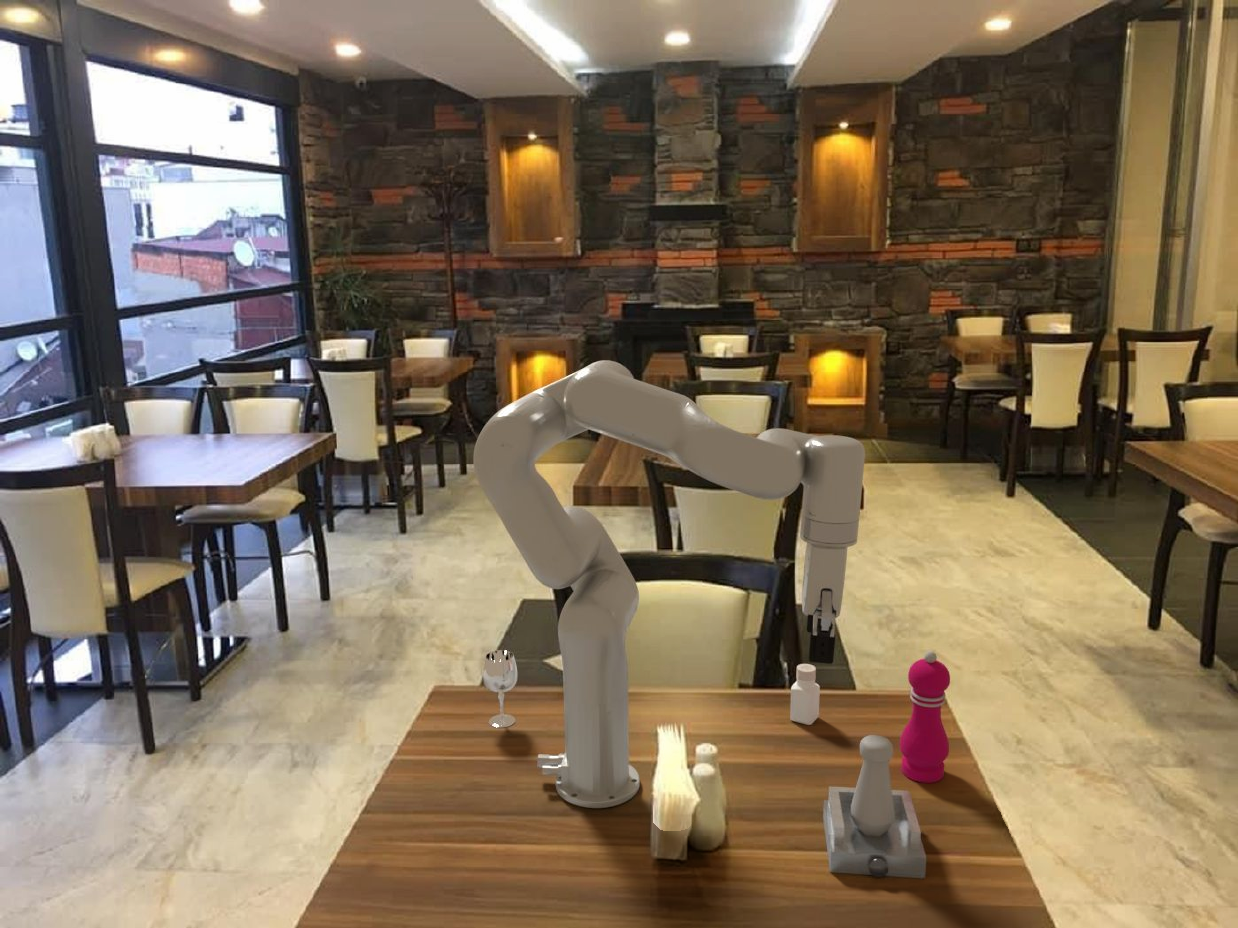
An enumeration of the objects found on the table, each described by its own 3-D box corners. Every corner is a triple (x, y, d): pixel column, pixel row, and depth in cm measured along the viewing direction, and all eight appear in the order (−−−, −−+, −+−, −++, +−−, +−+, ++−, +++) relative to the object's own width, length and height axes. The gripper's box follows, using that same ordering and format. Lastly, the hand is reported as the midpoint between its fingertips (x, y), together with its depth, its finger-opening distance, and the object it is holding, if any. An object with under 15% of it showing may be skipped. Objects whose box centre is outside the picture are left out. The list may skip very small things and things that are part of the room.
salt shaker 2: (895, 842, 131) (900, 753, 128) (850, 837, 133) (855, 749, 129) (892, 817, 137) (897, 731, 134) (849, 812, 138) (853, 727, 135)
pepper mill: (909, 754, 158) (917, 637, 154) (954, 770, 154) (963, 649, 149) (890, 774, 153) (897, 653, 148) (935, 790, 149) (945, 666, 144)
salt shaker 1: (819, 717, 171) (822, 665, 168) (811, 727, 167) (813, 674, 165) (797, 711, 173) (799, 660, 170) (788, 721, 169) (790, 669, 167)
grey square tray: (830, 875, 130) (832, 838, 128) (823, 818, 142) (824, 783, 141) (926, 882, 128) (928, 844, 127) (910, 823, 141) (912, 788, 139)
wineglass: (482, 715, 172) (479, 651, 169) (515, 710, 174) (512, 646, 171) (488, 731, 167) (485, 665, 164) (522, 726, 168) (519, 660, 166)
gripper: (799, 508, 143) (790, 619, 147) (802, 547, 126) (792, 671, 130) (853, 512, 141) (843, 624, 146) (863, 551, 125) (851, 677, 129)
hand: (819, 646), depth 138 cm, fingers open, 9 cm apart
